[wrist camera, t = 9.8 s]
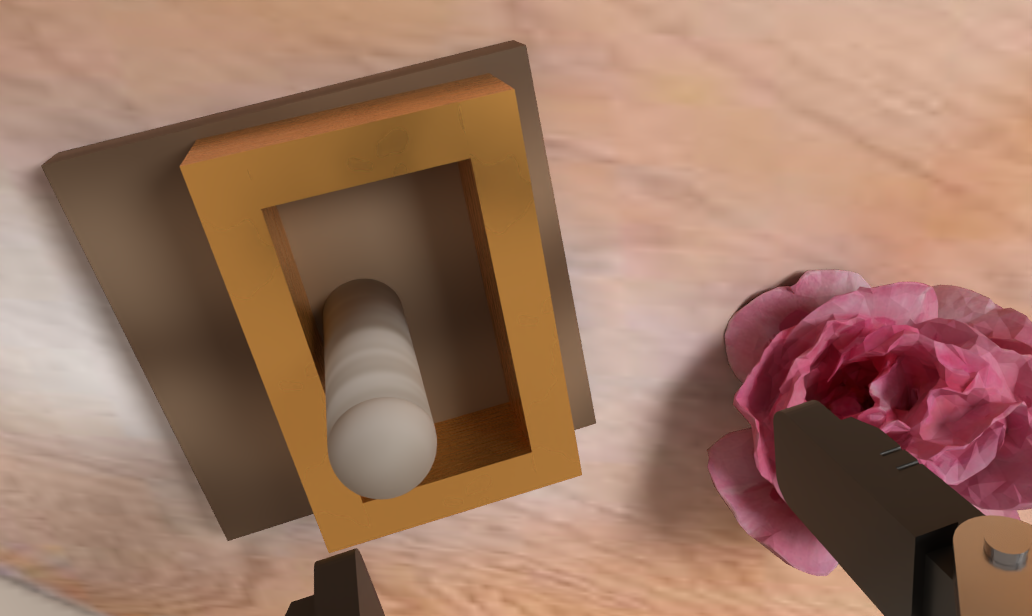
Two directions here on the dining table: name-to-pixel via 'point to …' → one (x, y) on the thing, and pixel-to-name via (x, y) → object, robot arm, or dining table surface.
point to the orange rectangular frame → (290, 322)
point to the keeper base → (315, 299)
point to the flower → (878, 392)
